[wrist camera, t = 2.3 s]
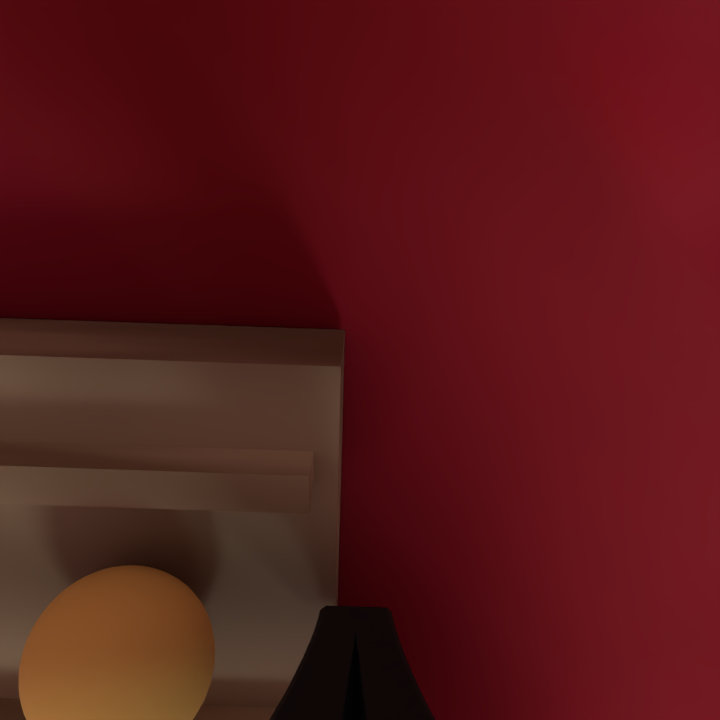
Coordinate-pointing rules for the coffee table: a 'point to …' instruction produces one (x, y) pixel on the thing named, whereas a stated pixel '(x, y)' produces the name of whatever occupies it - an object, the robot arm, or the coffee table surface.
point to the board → (175, 483)
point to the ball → (119, 650)
